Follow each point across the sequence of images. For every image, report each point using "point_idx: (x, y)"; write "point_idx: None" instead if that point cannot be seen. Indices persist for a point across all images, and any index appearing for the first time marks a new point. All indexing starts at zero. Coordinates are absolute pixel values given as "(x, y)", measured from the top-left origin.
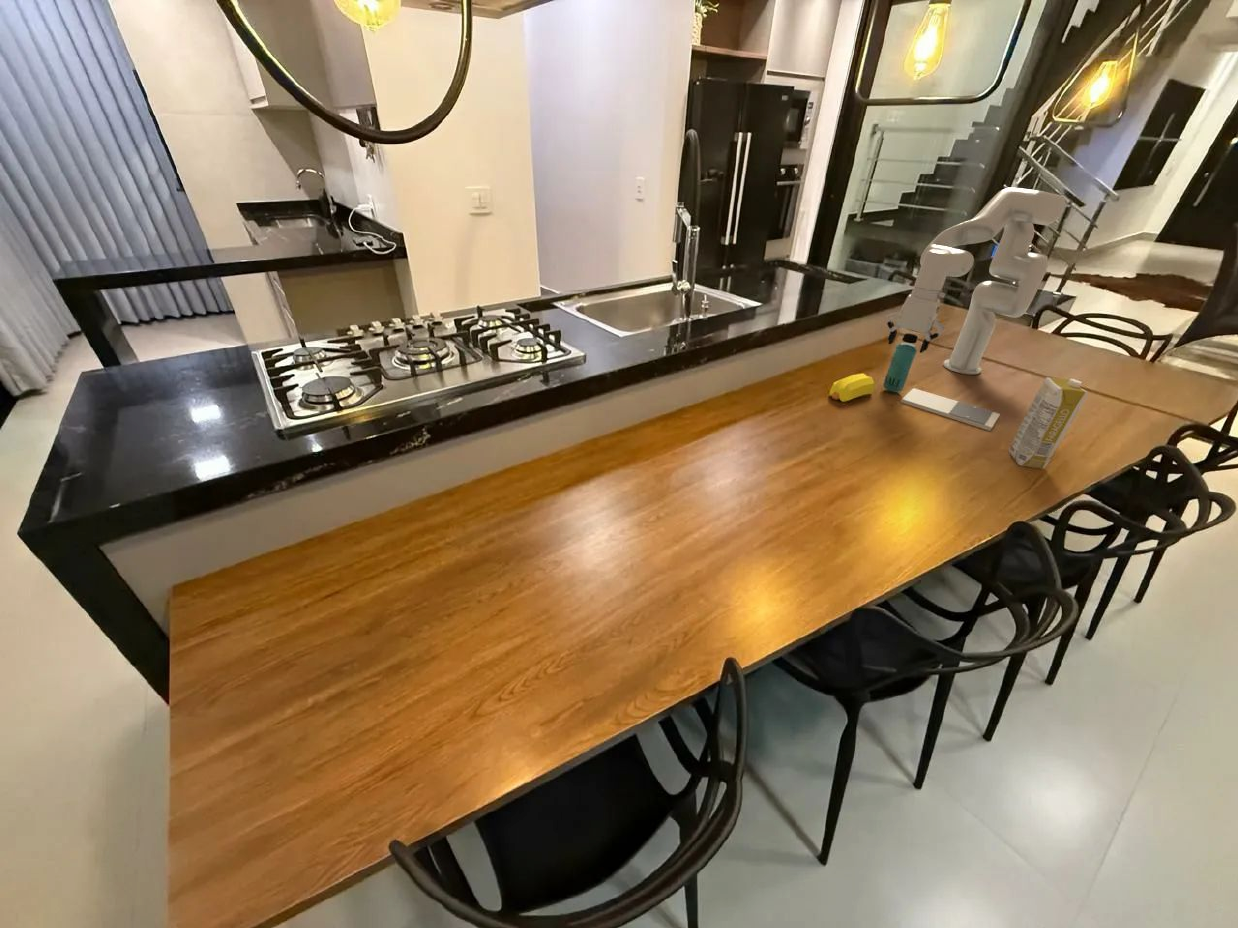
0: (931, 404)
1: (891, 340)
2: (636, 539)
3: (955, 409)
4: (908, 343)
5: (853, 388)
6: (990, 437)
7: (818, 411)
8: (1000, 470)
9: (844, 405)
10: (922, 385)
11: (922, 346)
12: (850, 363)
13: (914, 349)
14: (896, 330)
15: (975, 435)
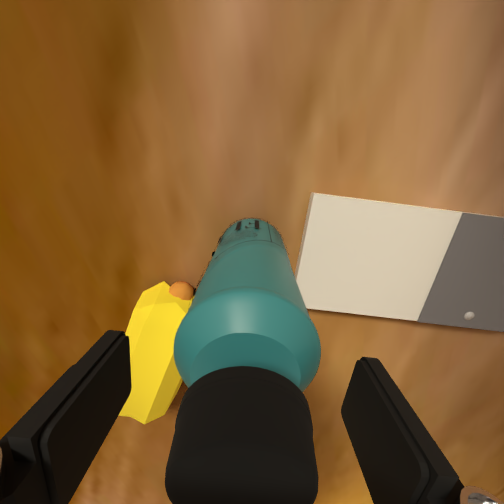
0: (373, 290)
1: (111, 420)
2: None
3: (441, 287)
4: (242, 339)
5: (165, 407)
6: (500, 357)
7: (148, 441)
8: (480, 459)
9: (177, 393)
10: (342, 98)
11: (367, 468)
12: (33, 45)
13: (304, 389)
14: (24, 443)
15: (465, 366)
